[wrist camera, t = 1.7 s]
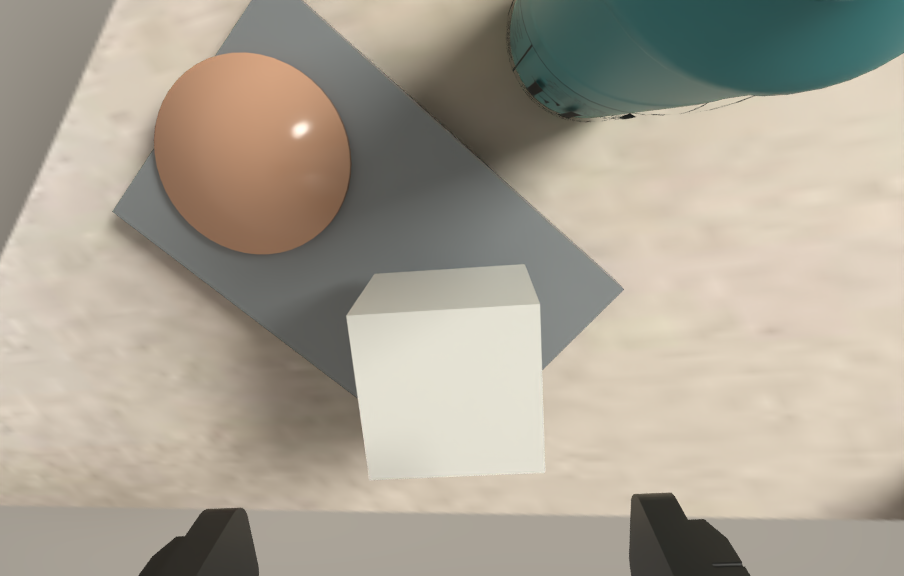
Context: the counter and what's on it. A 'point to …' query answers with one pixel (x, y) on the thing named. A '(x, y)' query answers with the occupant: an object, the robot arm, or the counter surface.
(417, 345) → the off-white matte cube
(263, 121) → the tan flat disc
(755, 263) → the counter surface
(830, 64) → the beverage bottle
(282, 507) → the counter surface
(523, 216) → the post board
